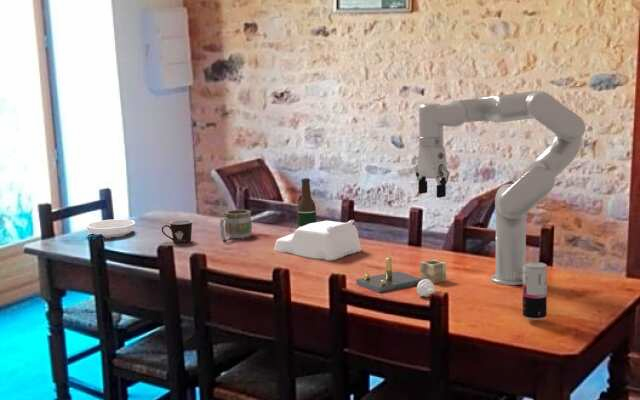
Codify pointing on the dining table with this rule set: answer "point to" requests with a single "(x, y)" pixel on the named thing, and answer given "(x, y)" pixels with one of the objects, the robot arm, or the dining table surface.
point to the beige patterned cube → (433, 270)
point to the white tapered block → (321, 240)
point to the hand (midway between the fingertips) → (431, 195)
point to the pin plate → (388, 280)
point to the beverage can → (534, 290)
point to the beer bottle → (306, 205)
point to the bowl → (111, 227)
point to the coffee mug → (180, 231)
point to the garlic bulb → (425, 288)
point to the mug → (236, 224)
